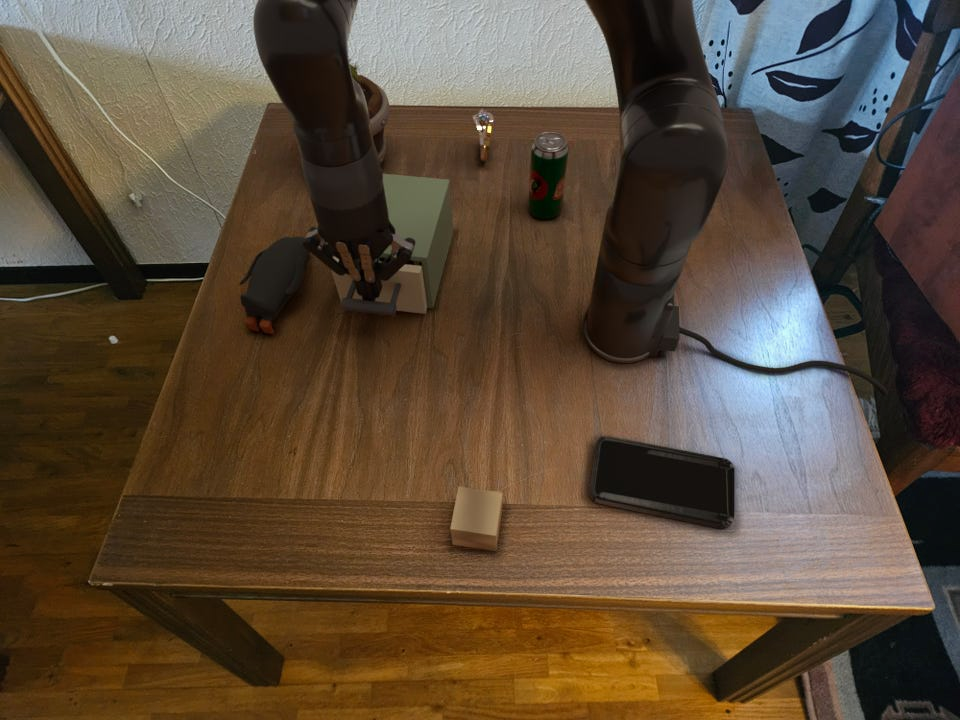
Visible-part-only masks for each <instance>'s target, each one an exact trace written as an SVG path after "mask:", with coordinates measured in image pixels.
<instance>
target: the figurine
mask: <svg viewBox="0 0 960 720" xmlns="http://www.w3.org/2000/svg"><path fill="white" fill-rule="evenodd" d="M305 238H306V237H304V236H303V237H302V236H285V237H281V238H279V239H277V240H275V241H274V242H273V243H272V244H271V245H269V246H268V247H267V248H266V249H264V250H261V251H260V252H259V253H257V254H256V255H255V257H254V259H253V261H252V262H251V264H250V267H249V269H248V270H247V272H246V274H245V275H244V277H243V278H242V279H241V280H240V282H239V283H238V284H239V285H240V286H242V285H244V284H246V282H247V281H248V280H249V281H248V285H247V289H246V293H245V294H240V304H241V305H242V307H243V308H244V310H245V314H246V315H245V318H244V321H243V323H244V324H245V326H246V327H247V328H248V329H249V330H250V331H254V332H260V330H262V332H263V333H264V334H267V335H275V330H274V329H273V326H272V322H274V321H275V320H276V319H277V317H278V315H279V313H280V311H281V310H282V308H283V307H284V306H285V304H286V303H287V302H288V300H289V299H290V298H291V297H292V295H293V294H294V293H296V292H297V291H298V290H299V288H300V287H301V284H302V283H303V281H304V276H305V275H304V274H305V270H306V267H307V265H308V261H309V257H310V255H311V252H309V251H308V250H307V249H306V248H304V246H303V242H304V240H305ZM258 322H259V323H258Z"/></svg>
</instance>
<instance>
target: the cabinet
mask: <svg viewBox="0 0 960 720" xmlns="http://www.w3.org/2000/svg"><path fill="white" fill-rule="evenodd" d="M383 184H384V190H385V196H386V202H387V208H388V215H389V221H390V222H391V224H392V225H393V226H394V228H395V234H396V235H397V236H399V237H401V238H402V239H404V240H405V239H406V238H412V239H414V240H415V246H414V250H413V253H412V256H411V259H410V260H411V261H421V262H422V269H423V277H424V284H425V294H426V301H427V309H434V308H435V304H436V300H437V297H438V293H439V289H440V284H441V281H442V278H443V274H444V269H445V267H446V266H445V265H446V262H447V258H448V253H449V250H450V247H451V243H452V239H453V235H454V224H453V223H454V222H453V209H452V196H451V183H450V179H447V178H437V177H436V178H435V177H426V176H425V177H424V176H415V175H414V176H413V175H404V174H403V175H402V174H390V173H383ZM391 250H392V246H391V245H390V246H389V247H388V248H387V249H386V250H385V251H384V252H383V253H382V255H381V256H380V257H383V258H387V257H388V256H389V255H390V254H391ZM333 257H335V256H334V255H333Z"/></svg>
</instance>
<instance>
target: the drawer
mask: <svg viewBox="0 0 960 720" xmlns="http://www.w3.org/2000/svg"><path fill="white" fill-rule="evenodd" d="M333 258H334V259H335V260H336V261H337V262H338V261H339V259H338V258H336V257H333ZM379 258H380V262H384V260H385V259H386V258H383V257H379ZM330 271H331V274H332V278H333V281H334V284H335V287H336V291H337V294H338V297H339V300H340V308H341V310H342V311H349V312H357V313H358V312H359V313H367V314H375V315H382V316H383V315H384V316H392V317H394V316H396V313H397V311H398V312H407V313H415V314H424V315H425V314H427V311H428V308H427V301H426V294H425V284H424V277H423V269H422V262H421V261H411V260H409V261H408V262H407V263H406V264H405V265H404V266H403V267H402V268H401V269H400V270H399V271H397V272H396V273H395V274H394V275H393V276H392V277H391V278H390V279H389V280H388V281H383V280H381V282H382V289H381V292H380V295H379V298H376V300H375V301H370V300H363V299H362V296H359V295H358V293H357V291H356V287H355V283H354V280H353V279H352V278H351V276H350V275H347V274H345V275H343V276H341V275H338V274H336V273H335V272H334V271H333V270H331V269H330Z"/></svg>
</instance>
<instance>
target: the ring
mask: <svg viewBox="0 0 960 720" xmlns="http://www.w3.org/2000/svg"><path fill="white" fill-rule="evenodd" d="M472 119H473V121H474V124H475V126H476V128H477V132H478V137H479V145H480V146H479V149H480V150H479V151H480V162H487V158H488V152H489V148H490V142H491V141H490V140H491V133H492V125H493V123H494V119H495V118H494V115H493V114H492V113H490V112H488V110H485V109H484V108H481V109H479V111H477V114H474V115H472Z"/></svg>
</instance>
